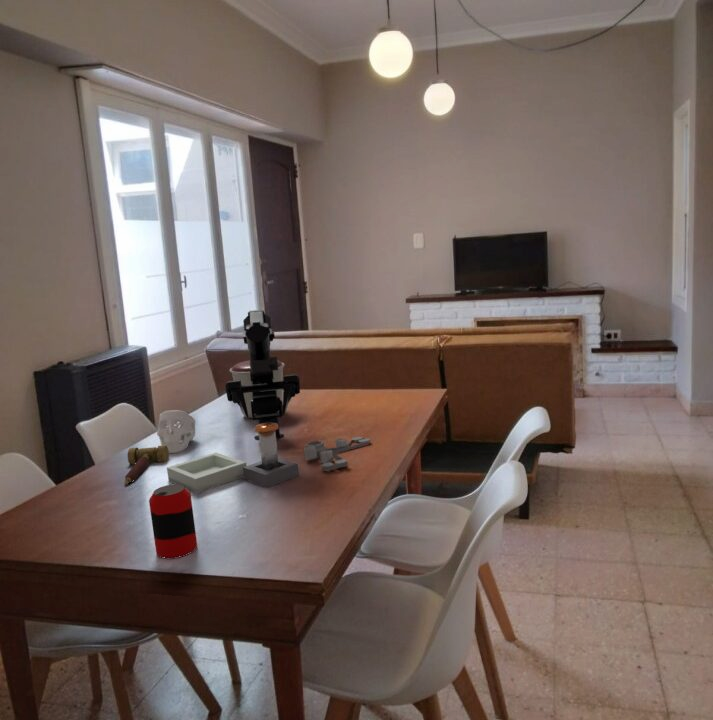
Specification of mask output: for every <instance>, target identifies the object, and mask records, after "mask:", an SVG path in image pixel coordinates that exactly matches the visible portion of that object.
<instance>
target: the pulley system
mask: <svg viewBox="0 0 713 720" xmlns="http://www.w3.org/2000/svg"><path fill="white" fill-rule="evenodd" d="M334 442H335V447H329V448H327V447H326V446H325V441H324V440H315V441H309V442H307V443H305V445H304V446H305V447H304V449H303V450H304V451H303V452H304V457H305V460H314V459H317V460H320V463H321V465H320V467H321V470H322V471H326V472H327V473H330V472H332V471H333V470H336V469H340V468H344V467H348V463H349V462H348V460H347V459H345V458H343V457H342V456H339V455H338V454H340V453H343V452H347V451H350V449H351V450H354V449H356V448H357V447H358V448H362V447H364V445H365V446H368V445H367V444H369V443H370V444H371V438H364V437H362V436H356V437H352V438H351V440H350V441H349V442H348V443H347V438H338V439H335V441H334ZM354 442H359V443H357V444H353V445H351V444H352V443H354ZM370 444H369V445H370ZM349 445H350V446H349ZM358 448H357V449H358ZM334 458H335V459H337V460H336V461H334ZM333 462H334V463H333Z"/></svg>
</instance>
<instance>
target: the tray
mask: <svg viewBox="0 0 713 720" xmlns="http://www.w3.org/2000/svg"><path fill="white" fill-rule="evenodd" d="M245 466H247V462H246V461H243V460H239V459H237V458H234V457H231V456H229V455H228V456H227V455H226V454H222V453H220V452H213V453H210V454H207V455H204V456H200V457H196V458H193V459H190V460H187V461H184V462H180V463H177V464H174V465H171V466H168V467H167V466H166V470H167V471H166V472H167V473H166V474H167V477H168V482H169V483H172V482H173V483H172V484H174V483H175V484H176V485H183V486H184V487H185V488H186V489H187V490H188V491H191V492H193V493H195V492H196V493H195V494H199V492H200V493H202V492H205V491H209V490H211V489H213V488H216V487H219V486H223V485H225V484H228V483H230V482H234V481H237V480H240V479H242V478H243V479H244V471H243V467H245ZM175 484H174V485H175Z"/></svg>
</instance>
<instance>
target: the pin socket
mask: <svg viewBox="0 0 713 720" xmlns="http://www.w3.org/2000/svg"><path fill="white" fill-rule="evenodd" d="M278 462H279V467H278V468H275V469H272V470H269V471H267V470H264V469H262V460H260V461H257V462H254V463H252V464H248V465H246V466H245V467H243V471H244V477H243V479H244V480H246V481H249V482H252V483H254V484H256V485H260V486H263V487H265V488H270V487H271V486H275V485H277V484H279V483H282V482H285V481H287V480H291V479H293V478H298V477H299V476H300V469H299V463H297V462H294V461H290V460H287V459H283V458H282V457H281V458H280V457H278Z"/></svg>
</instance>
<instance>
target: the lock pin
mask: <svg viewBox="0 0 713 720" xmlns="http://www.w3.org/2000/svg"><path fill="white" fill-rule="evenodd" d="M276 430H278V424H277V423H272V422H269V423H262V424H258V425H257V424H256V425H254V432H255V433H259V439H258V441H259V449H260V458H261V460H260V461H262V469H264V470H267V471H269V470H272V469H275V468H278V467H279V462H278V458H279V454H278V453H279V452H278V445H277V439H276V434H275V431H276Z"/></svg>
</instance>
